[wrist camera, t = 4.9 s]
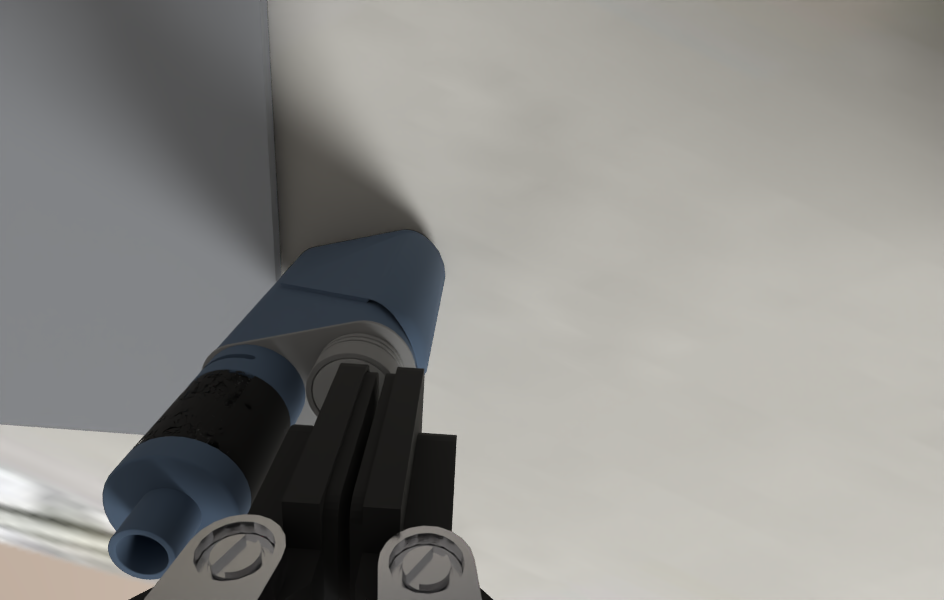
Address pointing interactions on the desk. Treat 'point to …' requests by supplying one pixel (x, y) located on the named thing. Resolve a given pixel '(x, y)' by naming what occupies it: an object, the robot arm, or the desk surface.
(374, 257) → the vaping device
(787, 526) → the desk surface
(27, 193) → the mat
